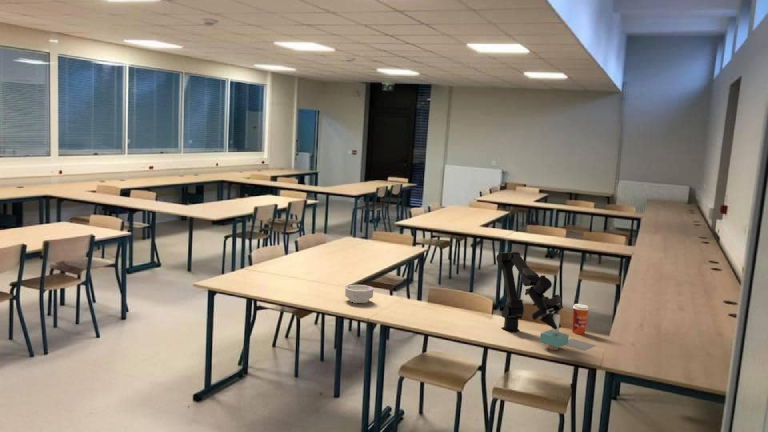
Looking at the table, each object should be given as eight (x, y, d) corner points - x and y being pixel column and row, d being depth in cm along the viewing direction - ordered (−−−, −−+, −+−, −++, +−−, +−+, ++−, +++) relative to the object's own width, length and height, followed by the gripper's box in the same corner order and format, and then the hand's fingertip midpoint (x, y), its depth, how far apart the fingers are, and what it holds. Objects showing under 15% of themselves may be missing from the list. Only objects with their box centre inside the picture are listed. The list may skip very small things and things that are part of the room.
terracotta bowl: (546, 348, 277) (546, 342, 277) (553, 347, 279) (553, 341, 279) (553, 351, 273) (553, 345, 273) (560, 350, 276) (561, 344, 275)
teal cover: (539, 341, 276) (542, 313, 274) (549, 338, 282) (552, 310, 281) (558, 347, 270) (561, 318, 268) (567, 343, 276) (570, 315, 275)
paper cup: (575, 336, 299) (578, 307, 297) (567, 331, 306) (569, 303, 304) (589, 335, 301) (592, 307, 299) (580, 330, 308) (583, 303, 307)
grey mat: (559, 343, 284) (559, 343, 284) (572, 339, 293) (572, 338, 293) (584, 351, 276) (584, 350, 276) (596, 346, 285) (596, 345, 285)
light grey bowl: (340, 298, 339) (341, 284, 338) (365, 297, 345) (366, 283, 344) (350, 306, 325) (351, 291, 324) (377, 304, 332) (378, 290, 331)
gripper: (540, 291, 269) (561, 322, 263) (561, 286, 283) (581, 315, 276) (523, 304, 275) (542, 335, 269) (544, 299, 289) (563, 328, 283)
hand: (558, 328), depth 274 cm, fingers closed on teal cover, 3 cm apart
